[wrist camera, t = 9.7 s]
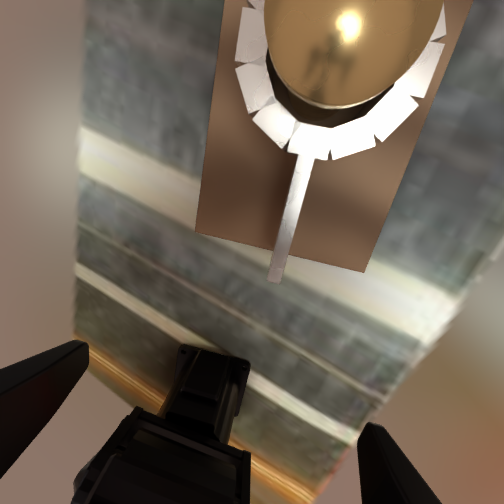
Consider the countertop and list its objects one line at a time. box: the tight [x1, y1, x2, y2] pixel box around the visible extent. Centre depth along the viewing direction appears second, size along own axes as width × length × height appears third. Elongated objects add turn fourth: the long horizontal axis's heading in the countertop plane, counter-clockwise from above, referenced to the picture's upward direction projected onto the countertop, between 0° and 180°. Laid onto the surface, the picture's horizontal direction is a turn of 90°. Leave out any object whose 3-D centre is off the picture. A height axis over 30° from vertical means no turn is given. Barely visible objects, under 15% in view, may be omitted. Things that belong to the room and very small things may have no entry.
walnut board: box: [195, 0, 473, 273], centre depth 15 cm, size 20×12×1 cm, turn 168°
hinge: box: [235, 0, 446, 284], centre depth 12 cm, size 19×9×5 cm, turn 168°
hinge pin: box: [264, 0, 444, 121], centre depth 11 cm, size 5×5×8 cm
